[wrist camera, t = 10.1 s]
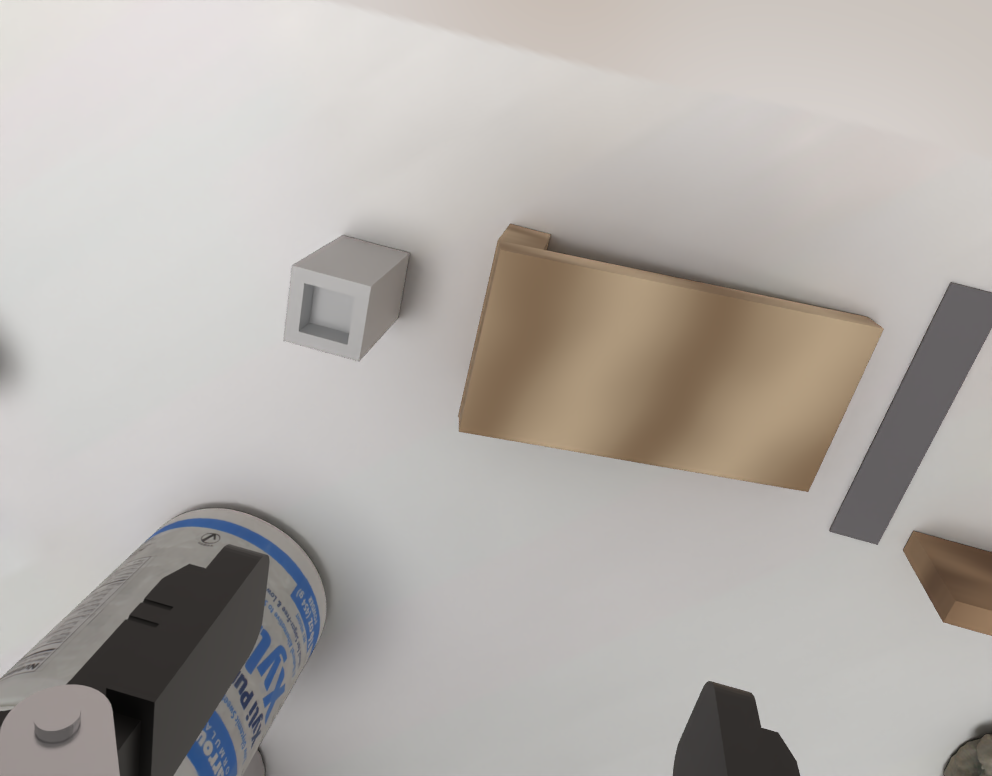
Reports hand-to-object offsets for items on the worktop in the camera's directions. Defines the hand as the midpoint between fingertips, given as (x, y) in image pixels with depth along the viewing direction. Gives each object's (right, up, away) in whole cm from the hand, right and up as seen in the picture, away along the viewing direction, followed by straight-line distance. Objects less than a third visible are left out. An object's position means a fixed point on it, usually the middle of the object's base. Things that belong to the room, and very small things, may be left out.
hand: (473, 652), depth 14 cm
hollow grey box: (-5, +9, +17) cm, 20 cm away
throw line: (+17, +3, +16) cm, 23 cm away
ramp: (+7, +6, +17) cm, 19 cm away
